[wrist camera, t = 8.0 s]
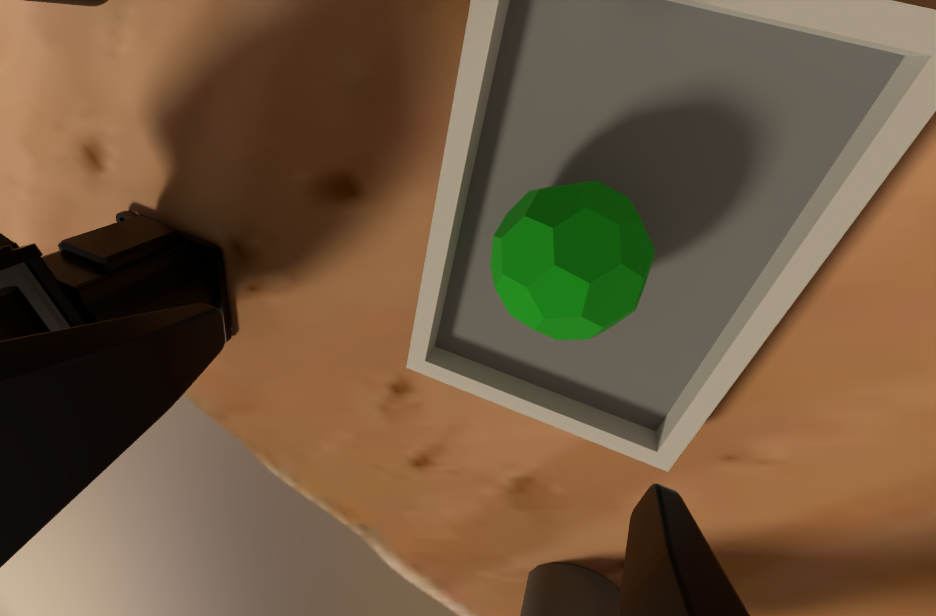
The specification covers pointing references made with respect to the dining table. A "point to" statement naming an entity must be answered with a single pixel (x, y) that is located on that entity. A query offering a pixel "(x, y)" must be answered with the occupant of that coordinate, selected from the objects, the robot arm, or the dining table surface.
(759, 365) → the dining table surface
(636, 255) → the polyhedron
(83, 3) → the leaning round-cornered charcoal block
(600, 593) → the candle holder
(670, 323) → the tray
